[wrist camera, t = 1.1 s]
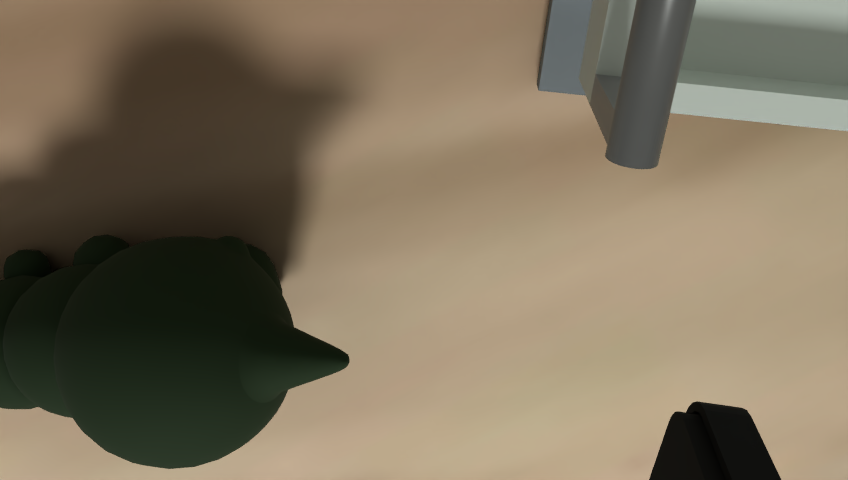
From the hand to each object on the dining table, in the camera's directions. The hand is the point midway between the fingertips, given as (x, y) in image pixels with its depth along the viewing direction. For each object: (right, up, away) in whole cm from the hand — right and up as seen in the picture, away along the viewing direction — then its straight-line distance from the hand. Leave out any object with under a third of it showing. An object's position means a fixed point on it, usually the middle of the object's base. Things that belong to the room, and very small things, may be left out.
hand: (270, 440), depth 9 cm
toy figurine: (-13, 0, +30) cm, 33 cm away
